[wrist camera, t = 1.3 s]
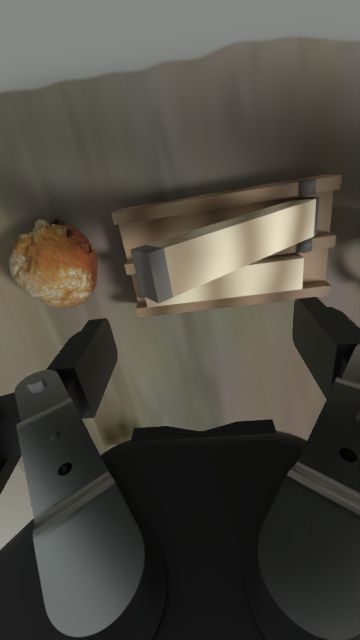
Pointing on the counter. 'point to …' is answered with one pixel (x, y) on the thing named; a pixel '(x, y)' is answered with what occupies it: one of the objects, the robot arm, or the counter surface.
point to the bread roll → (54, 264)
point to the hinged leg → (221, 248)
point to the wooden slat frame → (249, 281)
